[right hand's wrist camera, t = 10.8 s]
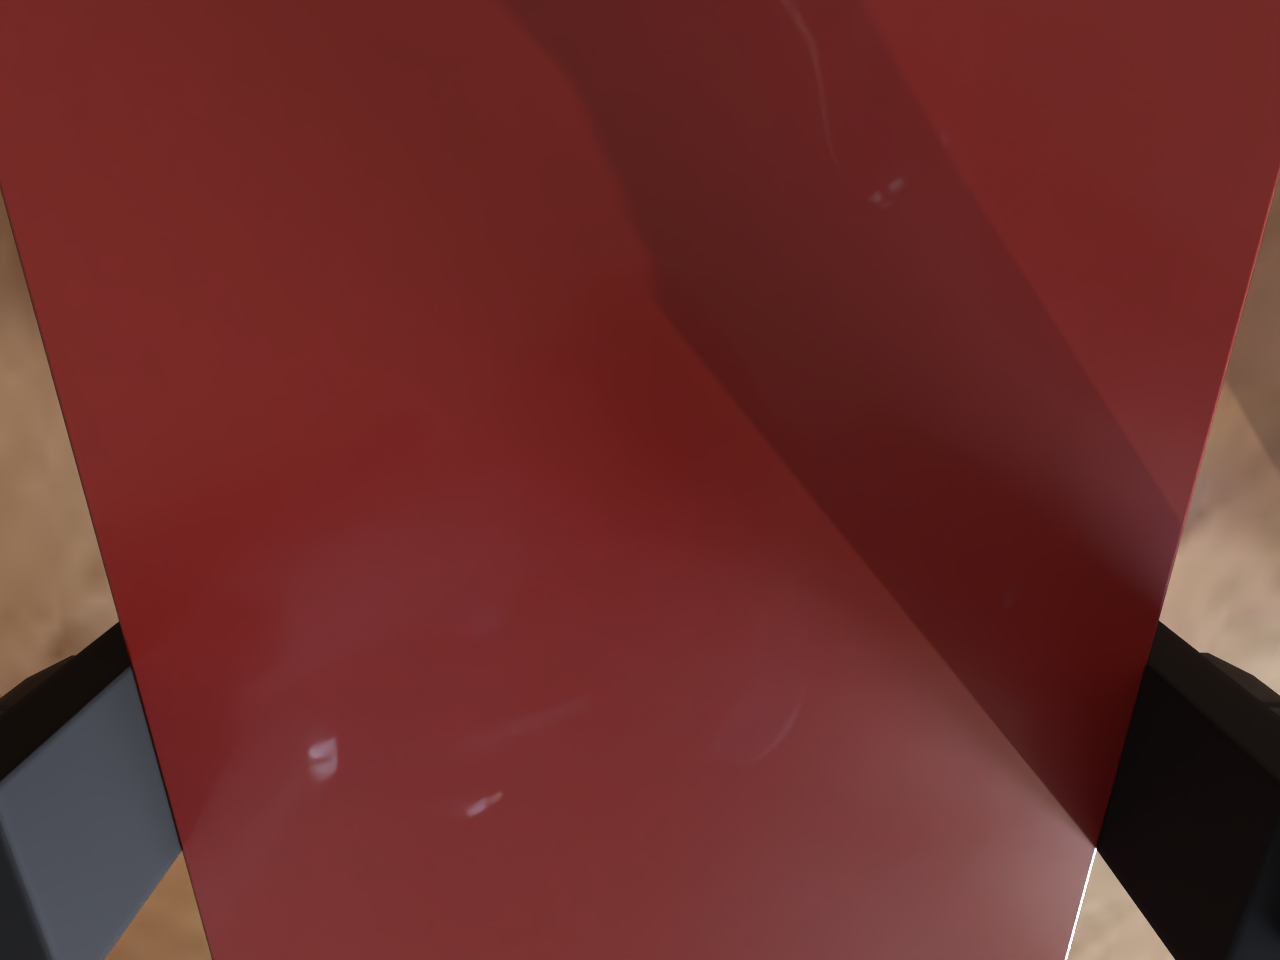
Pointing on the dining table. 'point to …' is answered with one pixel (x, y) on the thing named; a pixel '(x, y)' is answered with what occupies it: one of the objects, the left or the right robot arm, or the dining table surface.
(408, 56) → the cabinet
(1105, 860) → the right robot arm
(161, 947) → the dining table surface
